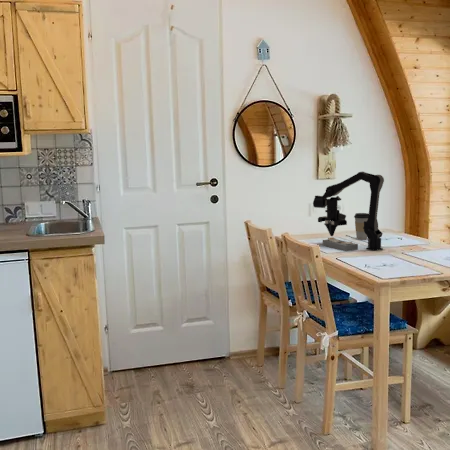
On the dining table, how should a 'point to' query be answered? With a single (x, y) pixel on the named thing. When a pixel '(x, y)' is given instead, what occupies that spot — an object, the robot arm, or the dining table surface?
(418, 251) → the dining table surface
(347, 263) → the dining table surface
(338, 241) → the rocker far
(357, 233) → the coffee cup
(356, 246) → the rocker switch box
